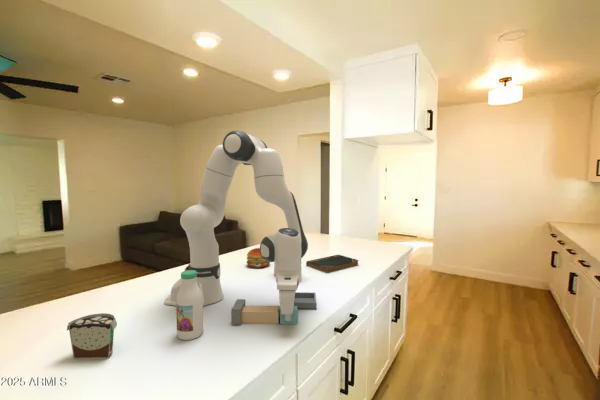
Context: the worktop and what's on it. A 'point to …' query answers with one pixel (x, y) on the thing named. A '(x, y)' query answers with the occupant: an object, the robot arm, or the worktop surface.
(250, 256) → the burger
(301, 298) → the tray
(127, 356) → the worktop surface
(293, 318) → the stub
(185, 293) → the milk bottle
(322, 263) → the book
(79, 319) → the food container
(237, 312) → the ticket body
